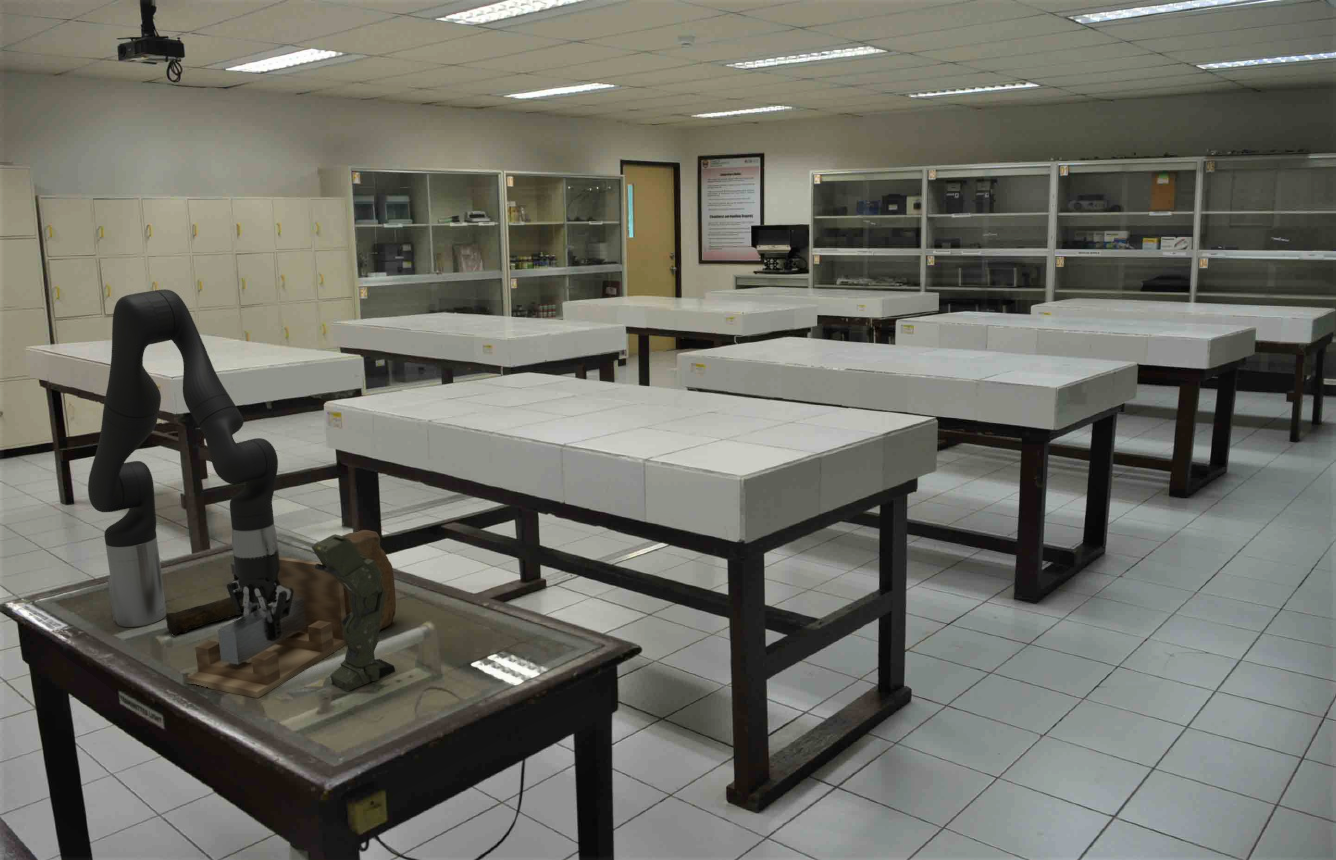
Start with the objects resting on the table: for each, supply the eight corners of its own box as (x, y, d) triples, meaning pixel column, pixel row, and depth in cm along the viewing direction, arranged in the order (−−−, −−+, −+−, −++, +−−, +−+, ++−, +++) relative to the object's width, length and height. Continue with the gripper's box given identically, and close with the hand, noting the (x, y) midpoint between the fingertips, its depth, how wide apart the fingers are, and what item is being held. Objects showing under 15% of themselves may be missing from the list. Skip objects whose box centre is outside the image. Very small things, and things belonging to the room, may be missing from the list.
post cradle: (187, 683, 172) (176, 599, 169) (283, 632, 193) (275, 556, 190) (257, 698, 166) (248, 611, 163) (348, 643, 188) (341, 565, 184)
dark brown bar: (174, 639, 191) (170, 613, 190) (166, 632, 195) (163, 606, 193) (287, 608, 207) (284, 584, 205) (277, 602, 210) (275, 578, 209)
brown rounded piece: (351, 641, 189) (343, 544, 184) (334, 630, 194) (325, 535, 190) (402, 625, 196) (394, 531, 192) (383, 615, 201) (376, 523, 197)
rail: (221, 661, 171) (217, 629, 170) (289, 624, 187) (286, 595, 185) (238, 664, 170) (235, 632, 169) (306, 627, 185) (303, 597, 184)
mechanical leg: (392, 651, 182) (348, 518, 171) (414, 661, 178) (371, 525, 167) (333, 692, 173) (282, 554, 162) (355, 703, 169) (304, 563, 158)
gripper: (209, 551, 174) (219, 640, 177) (271, 560, 168) (280, 651, 172) (241, 538, 180) (250, 624, 184) (301, 547, 175) (310, 635, 179)
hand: (265, 637), depth 178 cm, fingers closed on rail, 4 cm apart
